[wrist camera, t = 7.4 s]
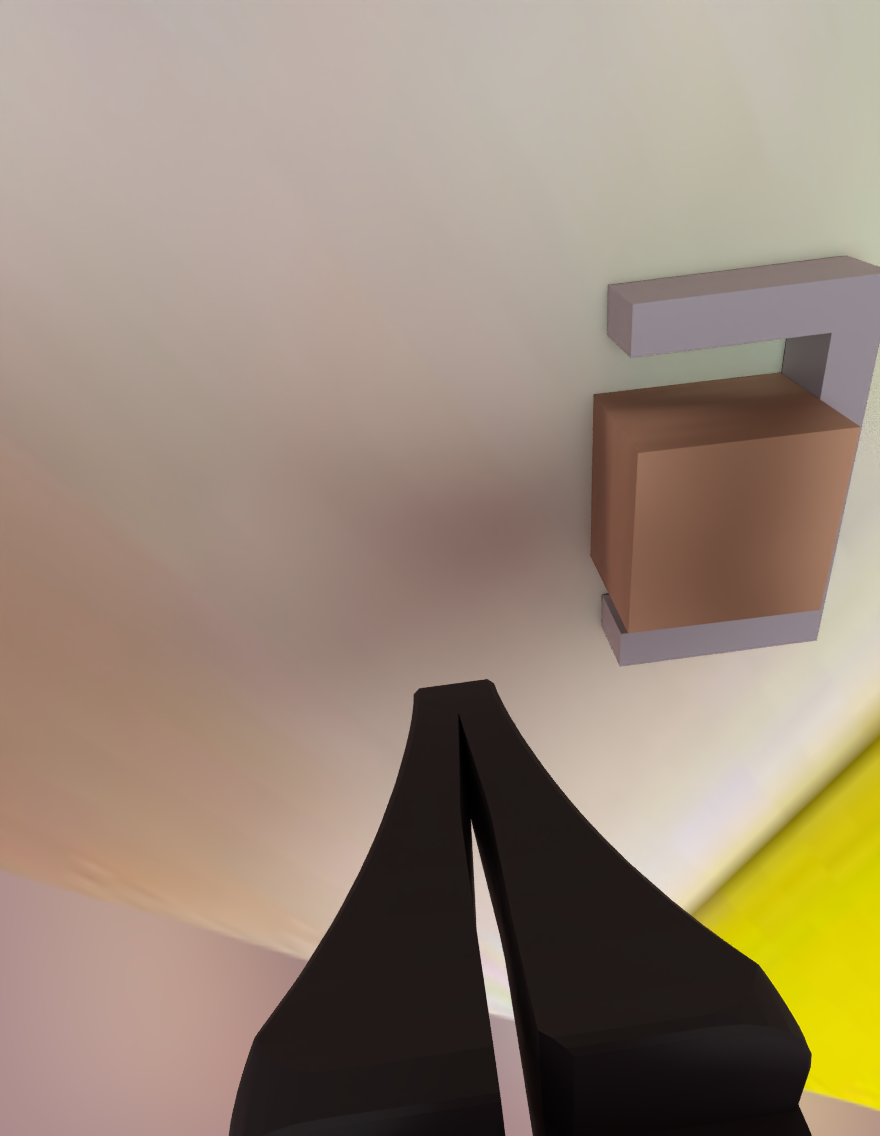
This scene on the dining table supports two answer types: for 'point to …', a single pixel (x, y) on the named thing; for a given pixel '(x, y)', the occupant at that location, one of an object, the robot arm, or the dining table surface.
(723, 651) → the purple-grey c-shaped block
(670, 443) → the wooden cube block
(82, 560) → the dining table surface
